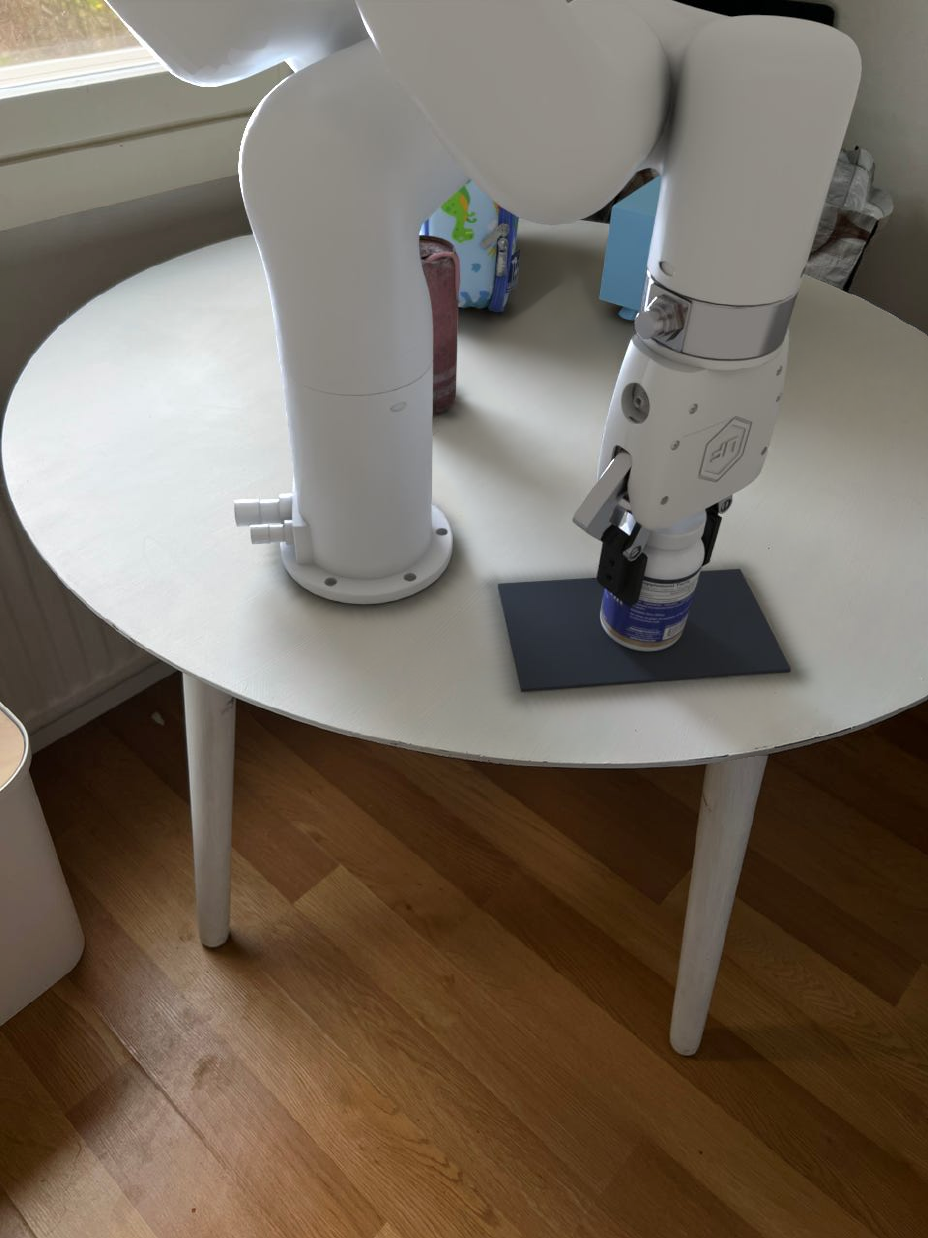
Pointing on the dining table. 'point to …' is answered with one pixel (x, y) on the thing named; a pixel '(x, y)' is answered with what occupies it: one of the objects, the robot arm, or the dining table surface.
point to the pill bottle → (659, 588)
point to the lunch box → (479, 246)
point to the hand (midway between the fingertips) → (653, 571)
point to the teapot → (629, 248)
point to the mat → (587, 656)
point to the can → (442, 315)
